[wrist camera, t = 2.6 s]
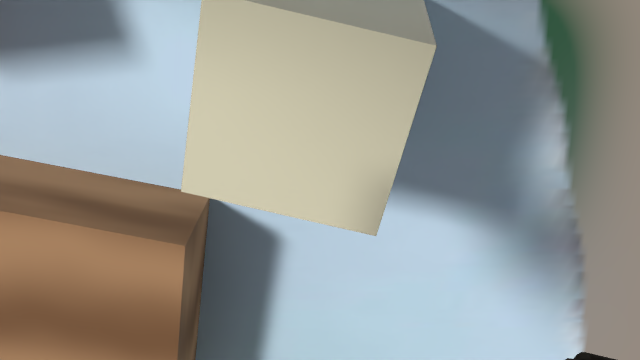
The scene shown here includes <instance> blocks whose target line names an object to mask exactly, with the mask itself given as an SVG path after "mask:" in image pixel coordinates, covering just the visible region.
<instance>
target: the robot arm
mask: <svg viewBox="0 0 640 360" xmlns="http://www.w3.org/2000/svg"><path fill="white" fill-rule="evenodd" d="M566 360H616V359H611V358H607V357H603V356H598V355H594V354H590V353H586V352H581V353H579V354H577V355H576V356H575V358H574V359H569V358H567V359H566Z"/></svg>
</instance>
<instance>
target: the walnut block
mask: <svg viewBox="0 0 640 360" xmlns="http://www.w3.org/2000/svg"><path fill="white" fill-rule="evenodd" d="M209 201H210V198H207V197H203V196H198V195H194V194H189V193H185V192H181V190H179V189H174V188H169V187H164V186H159V185H154V184H148V183H143V182H138V181H133V180H128V179H122V178H117V177H112V176H107V175H102V174H96V173H91V172H86V171H81V170H76V169H70V168H65V167H60V166H55V165H50V164H44V163H39V162H34V161H29V160H24V159H18V158H13V157H8V156H3V155H0V360H195V356H196V345H197V334H198V323H199V312H200V301H201V290H202V279H203V267H204V256H205V245H206V234H207V223H208V212H209Z"/></svg>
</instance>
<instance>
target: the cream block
mask: <svg viewBox="0 0 640 360" xmlns="http://www.w3.org/2000/svg"><path fill="white" fill-rule="evenodd" d="M436 47H437V45H436V41H435V38H434V34H433V31H432V27H431V24H430V20H429V17H428V13H427V9H426V6H425V2H424V0H202V2H201V12H200V21H199V30H198V39H197V49H196V58H195V67H194V77H193V86H192V95H191V104H190V114H189V123H188V132H187V141H186V151H185V160H184V169H183V178H182V188H181V192H185V193H189V194H194V195H198V196H203V197H207V198H211V199H216V200H220V201H224V202H229V203H233V204H238V205H242V206H246V207H251V208H255V209H260V210H264V211H268V212H273V213H277V214H281V215H286V216H290V217H295V218H299V219H303V220H308V221H312V222H317V223H321V224H325V225H330V226H334V227H338V228H343V229H347V230H352V231H356V232H360V233H365V234H369V235H374V236H376V235H377V232H378V228H379V225H380V222H381V219H382V216H383V213H384V210H385V207H386V203H387V200H388V197H389V194H390V191H391V188H392V185H393V181H394V178H395V175H396V172H397V169H398V166H399V163H400V160H401V156H402V153H403V150H404V147H405V144H406V141H407V138H408V134H409V131H410V128H411V125H412V122H413V119H414V116H415V113H416V109H417V106H418V103H419V100H420V97H421V94H422V91H423V87H424V84H425V81H426V78H427V75H428V72H429V69H430V66H431V62H432V59H433V56H434V53H435V50H436Z"/></svg>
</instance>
